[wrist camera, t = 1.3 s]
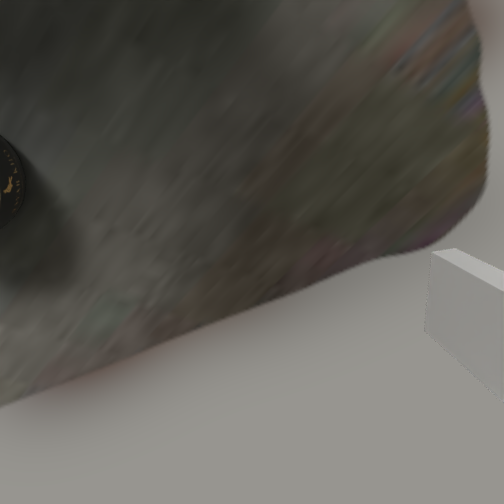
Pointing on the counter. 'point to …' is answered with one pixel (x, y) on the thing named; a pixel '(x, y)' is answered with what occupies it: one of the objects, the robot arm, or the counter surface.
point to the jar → (10, 182)
